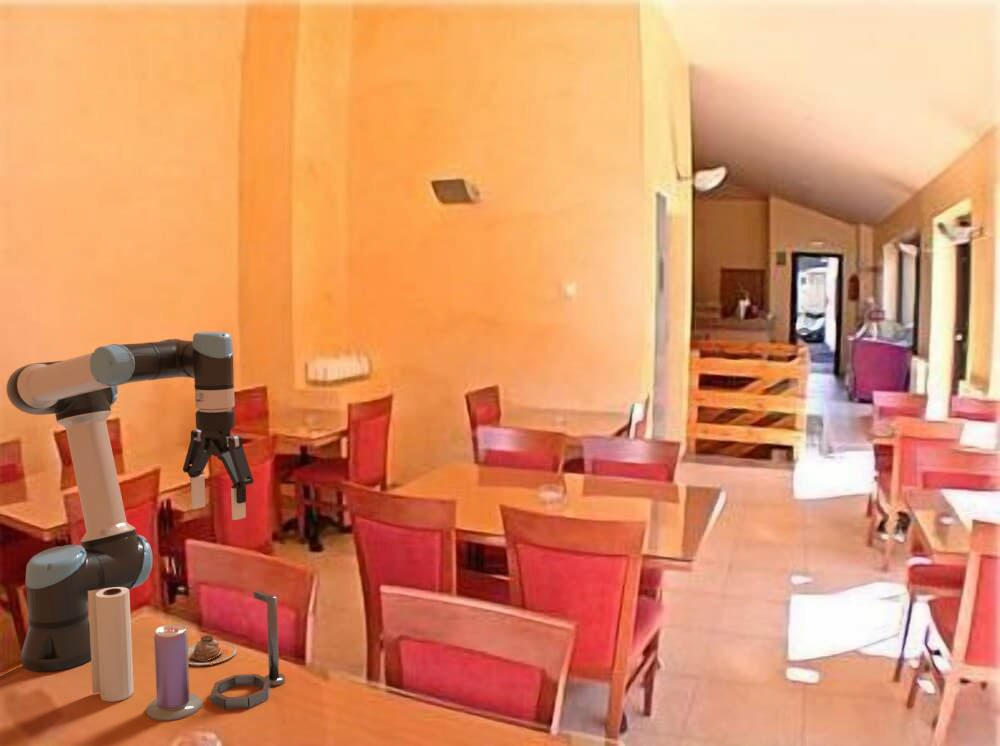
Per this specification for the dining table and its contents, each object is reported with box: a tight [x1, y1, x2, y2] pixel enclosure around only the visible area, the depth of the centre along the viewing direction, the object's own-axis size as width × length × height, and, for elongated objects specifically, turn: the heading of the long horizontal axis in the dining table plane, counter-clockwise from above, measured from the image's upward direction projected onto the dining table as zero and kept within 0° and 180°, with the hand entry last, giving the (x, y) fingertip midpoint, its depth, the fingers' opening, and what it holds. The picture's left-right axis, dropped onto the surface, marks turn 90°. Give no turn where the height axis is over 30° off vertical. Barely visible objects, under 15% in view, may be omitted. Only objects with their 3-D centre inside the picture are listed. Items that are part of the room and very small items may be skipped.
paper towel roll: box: [88, 587, 134, 703], centre depth 179 cm, size 7×6×21 cm
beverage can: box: [153, 623, 191, 711], centre depth 174 cm, size 6×6×15 cm
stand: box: [210, 590, 286, 710], centre depth 181 cm, size 11×16×18 cm
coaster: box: [145, 693, 203, 721], centre depth 175 cm, size 10×10×1 cm
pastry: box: [188, 635, 237, 667], centre depth 199 cm, size 12×12×5 cm
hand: (218, 513), depth 185 cm, fingers open, 13 cm apart
